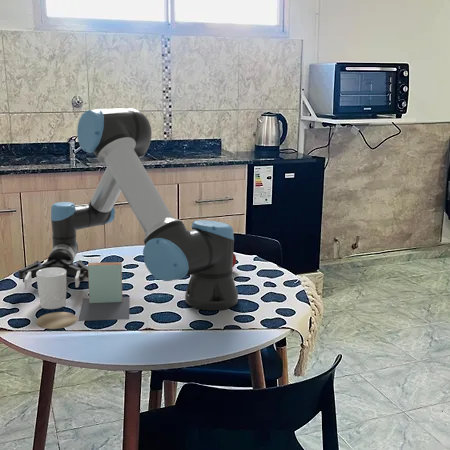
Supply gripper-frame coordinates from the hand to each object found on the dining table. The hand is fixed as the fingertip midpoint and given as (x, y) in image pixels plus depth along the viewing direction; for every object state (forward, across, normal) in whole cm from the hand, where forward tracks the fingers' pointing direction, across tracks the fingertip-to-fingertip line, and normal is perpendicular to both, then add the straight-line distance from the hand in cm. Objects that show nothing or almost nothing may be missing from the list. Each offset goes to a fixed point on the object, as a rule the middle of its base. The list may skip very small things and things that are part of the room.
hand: (51, 283), depth 163 cm
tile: (+1, -15, -5) cm, 16 cm away
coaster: (+13, -3, -6) cm, 15 cm away
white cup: (+2, 0, -6) cm, 6 cm away
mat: (+6, -15, -6) cm, 17 cm away
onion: (-24, -53, -6) cm, 58 cm away
